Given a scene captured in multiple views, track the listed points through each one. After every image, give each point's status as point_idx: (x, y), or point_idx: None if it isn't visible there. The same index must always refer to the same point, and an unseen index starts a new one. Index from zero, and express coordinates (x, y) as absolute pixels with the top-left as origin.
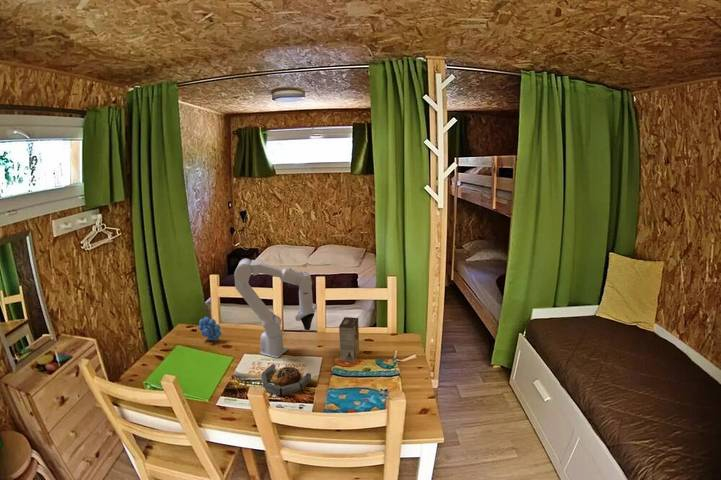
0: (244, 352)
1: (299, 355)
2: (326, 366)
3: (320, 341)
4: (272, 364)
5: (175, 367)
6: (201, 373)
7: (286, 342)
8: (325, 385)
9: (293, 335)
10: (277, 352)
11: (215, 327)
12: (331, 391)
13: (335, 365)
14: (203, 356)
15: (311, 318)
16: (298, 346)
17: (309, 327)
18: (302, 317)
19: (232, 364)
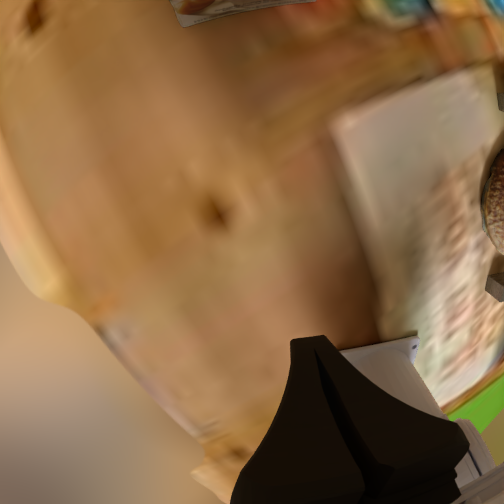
0: None
1: (369, 263)
2: (402, 54)
3: (163, 247)
4: (501, 299)
5: None
6: (483, 415)
7: (273, 394)
8: (491, 27)
9: (197, 403)
10: (407, 359)
11: None
12: (496, 3)
13: (370, 12)
14: None
15: (335, 436)
16: (283, 328)
17: (324, 349)
18: (485, 475)
19: (454, 407)
